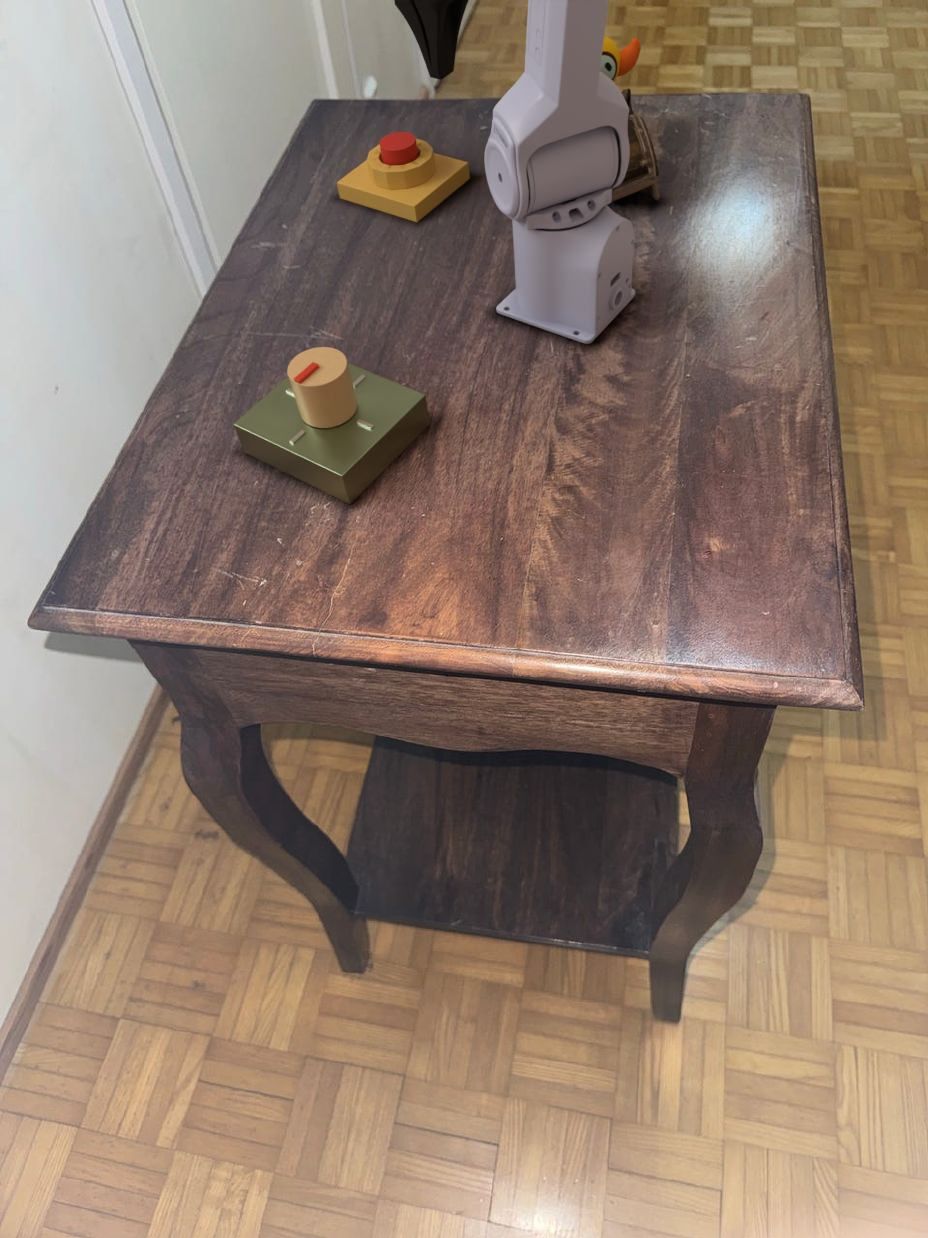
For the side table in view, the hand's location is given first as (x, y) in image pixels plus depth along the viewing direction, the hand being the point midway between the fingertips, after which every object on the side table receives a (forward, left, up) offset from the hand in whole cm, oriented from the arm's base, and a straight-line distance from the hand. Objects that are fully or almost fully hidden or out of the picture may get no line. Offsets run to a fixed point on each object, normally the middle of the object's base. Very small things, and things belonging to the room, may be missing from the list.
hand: (441, 73), depth 84 cm
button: (+4, +3, -7) cm, 9 cm away
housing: (+4, +3, -10) cm, 12 cm away
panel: (-14, +35, -10) cm, 39 cm away
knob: (-14, +35, -7) cm, 38 cm away
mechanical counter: (-14, -4, -11) cm, 18 cm away
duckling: (-8, -12, -11) cm, 18 cm away
